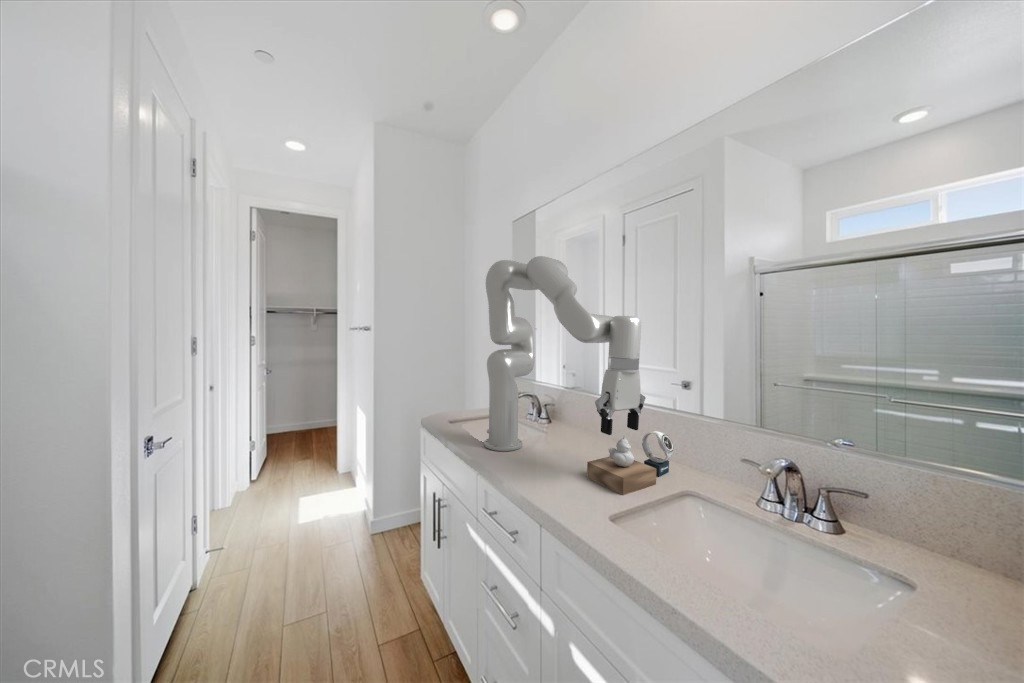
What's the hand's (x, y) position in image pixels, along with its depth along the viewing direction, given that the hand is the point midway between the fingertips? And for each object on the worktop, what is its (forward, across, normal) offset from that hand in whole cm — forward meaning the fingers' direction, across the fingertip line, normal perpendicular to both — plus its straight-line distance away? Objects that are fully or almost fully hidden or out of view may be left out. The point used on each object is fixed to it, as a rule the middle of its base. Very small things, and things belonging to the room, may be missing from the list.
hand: (619, 431), depth 93 cm
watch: (+13, -13, +2) cm, 18 cm away
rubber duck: (+9, 0, +1) cm, 9 cm away
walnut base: (+13, 0, +1) cm, 13 cm away
